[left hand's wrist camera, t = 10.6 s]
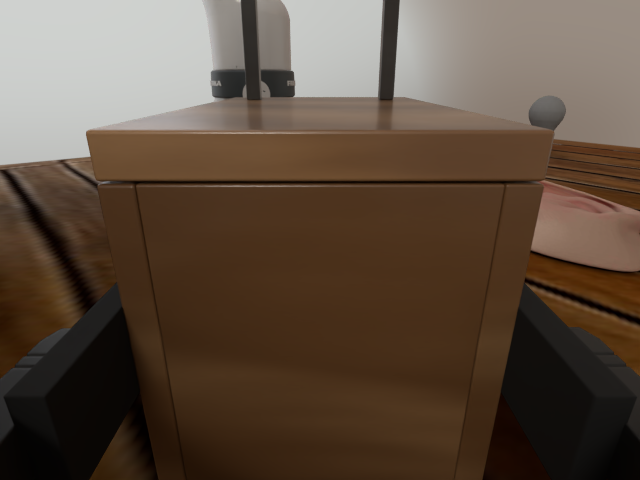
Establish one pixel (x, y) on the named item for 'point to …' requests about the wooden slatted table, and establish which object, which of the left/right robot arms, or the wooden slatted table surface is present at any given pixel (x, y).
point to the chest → (320, 322)
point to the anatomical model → (587, 230)
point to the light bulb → (547, 112)
